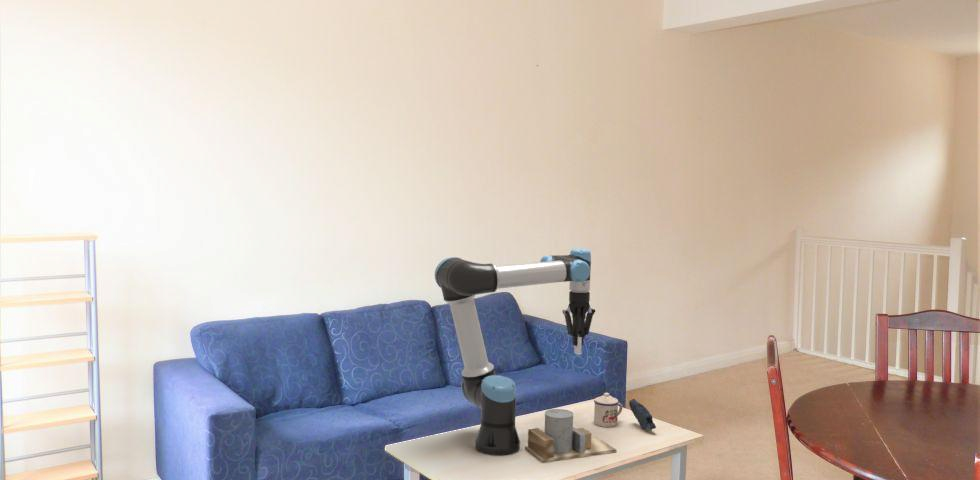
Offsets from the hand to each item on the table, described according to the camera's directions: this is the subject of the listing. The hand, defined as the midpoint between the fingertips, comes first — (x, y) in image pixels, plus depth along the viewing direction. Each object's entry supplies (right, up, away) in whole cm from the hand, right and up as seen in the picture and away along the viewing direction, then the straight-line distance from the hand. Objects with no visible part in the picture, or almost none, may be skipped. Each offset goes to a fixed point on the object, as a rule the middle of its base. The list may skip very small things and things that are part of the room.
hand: (577, 353), depth 288 cm
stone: (+23, -27, -3) cm, 36 cm away
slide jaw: (-3, -27, -26) cm, 38 cm away
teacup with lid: (+12, -27, +3) cm, 29 cm away
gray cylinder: (-10, -28, -29) cm, 41 cm away
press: (-5, -29, -27) cm, 40 cm away
